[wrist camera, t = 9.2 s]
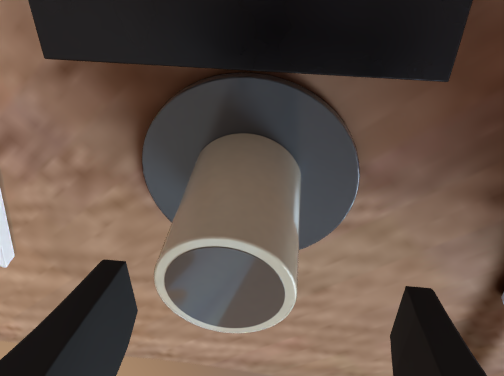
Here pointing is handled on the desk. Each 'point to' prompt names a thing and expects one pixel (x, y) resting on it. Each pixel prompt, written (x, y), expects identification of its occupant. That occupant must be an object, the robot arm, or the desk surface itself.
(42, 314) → the desk surface
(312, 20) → the shelf
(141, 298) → the desk surface
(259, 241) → the cup
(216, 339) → the desk surface
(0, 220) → the photo frame
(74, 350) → the robot arm
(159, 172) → the coaster
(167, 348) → the desk surface
